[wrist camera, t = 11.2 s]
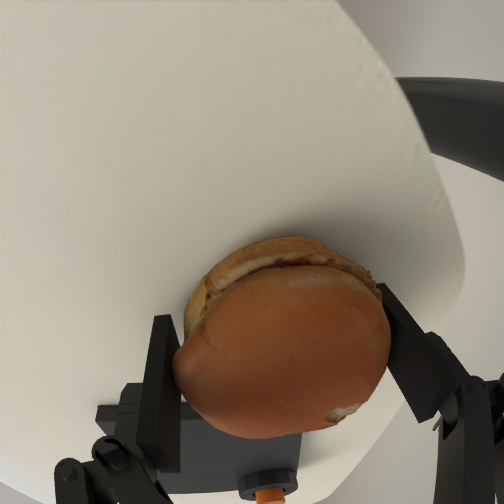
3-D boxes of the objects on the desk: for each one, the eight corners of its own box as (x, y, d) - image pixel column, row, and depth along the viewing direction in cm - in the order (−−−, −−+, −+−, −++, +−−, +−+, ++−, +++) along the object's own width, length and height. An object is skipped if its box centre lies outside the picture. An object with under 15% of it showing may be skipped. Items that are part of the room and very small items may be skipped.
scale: (300, 386, 19) (311, 423, 16) (293, 471, 26) (299, 494, 24) (97, 405, 18) (90, 440, 15) (163, 483, 25) (164, 506, 22)
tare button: (282, 483, 22) (285, 499, 20) (282, 491, 23) (285, 505, 22) (253, 488, 22) (256, 504, 20) (255, 495, 23) (258, 509, 21)
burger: (224, 200, 12) (234, 261, 8) (398, 271, 14) (450, 329, 10) (157, 368, 15) (151, 442, 11) (304, 396, 18) (323, 456, 14)
